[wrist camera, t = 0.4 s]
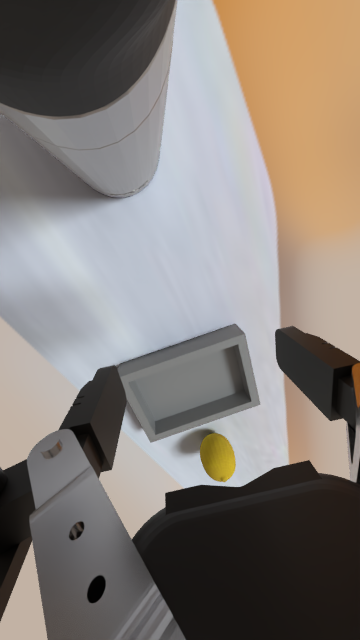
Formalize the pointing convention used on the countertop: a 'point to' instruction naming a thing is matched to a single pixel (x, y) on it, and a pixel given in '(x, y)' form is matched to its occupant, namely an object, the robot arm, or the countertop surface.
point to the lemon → (217, 457)
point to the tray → (190, 383)
